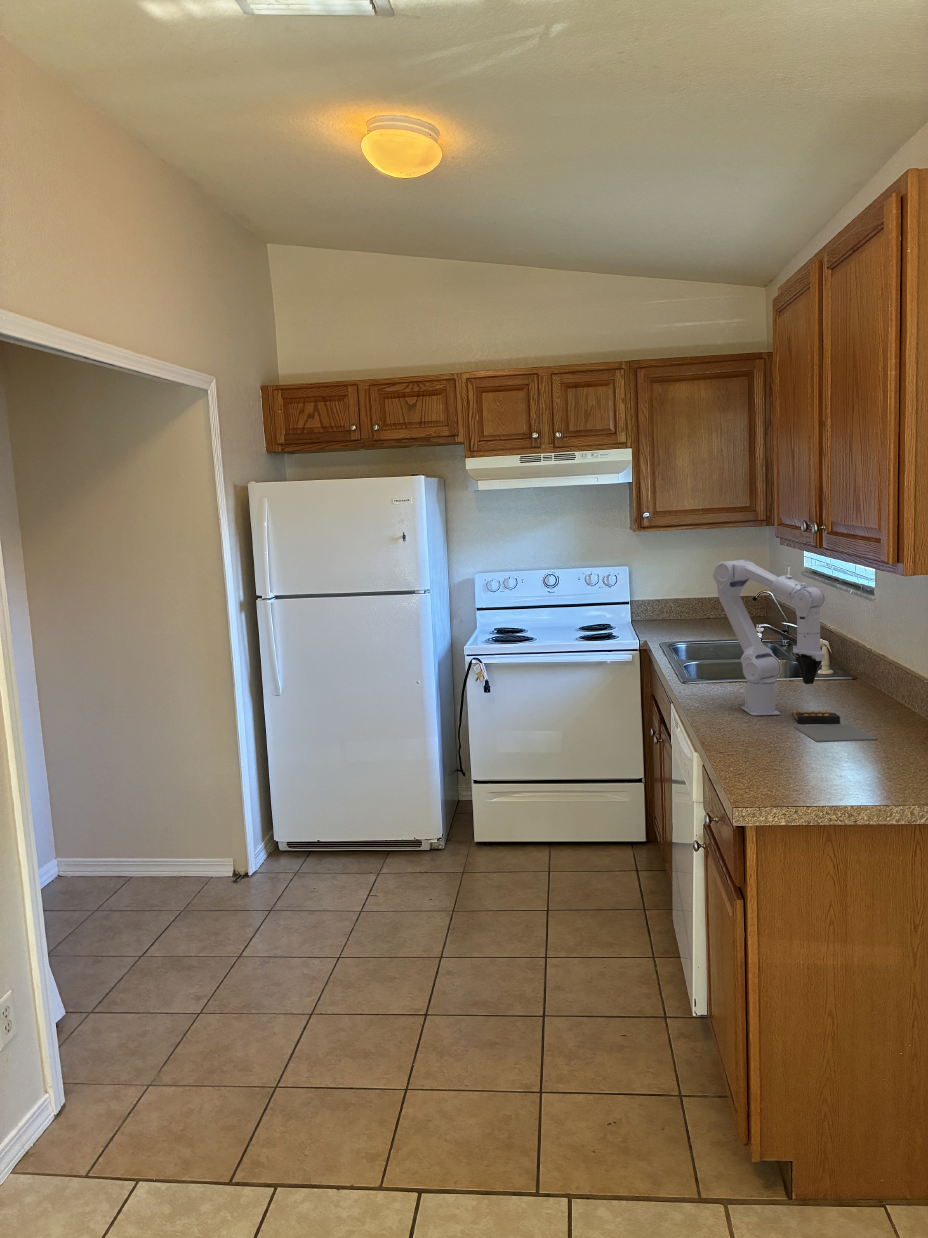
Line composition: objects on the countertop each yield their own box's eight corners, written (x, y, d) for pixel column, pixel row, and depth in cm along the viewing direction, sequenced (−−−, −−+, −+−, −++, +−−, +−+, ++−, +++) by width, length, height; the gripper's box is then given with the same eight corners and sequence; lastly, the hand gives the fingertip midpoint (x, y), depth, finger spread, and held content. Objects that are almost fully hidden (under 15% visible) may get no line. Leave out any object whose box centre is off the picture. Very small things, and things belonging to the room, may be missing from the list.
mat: (793, 727, 243) (793, 726, 243) (850, 725, 243) (850, 724, 243) (816, 742, 228) (816, 741, 228) (877, 740, 228) (877, 738, 228)
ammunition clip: (840, 723, 245) (829, 714, 256) (840, 716, 244) (829, 707, 256) (797, 723, 246) (789, 714, 258) (798, 716, 246) (789, 707, 258)
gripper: (782, 630, 252) (782, 679, 253) (806, 637, 238) (806, 689, 239) (807, 629, 252) (807, 678, 254) (832, 635, 238) (832, 687, 240)
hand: (808, 683), depth 247 cm, fingers closed
